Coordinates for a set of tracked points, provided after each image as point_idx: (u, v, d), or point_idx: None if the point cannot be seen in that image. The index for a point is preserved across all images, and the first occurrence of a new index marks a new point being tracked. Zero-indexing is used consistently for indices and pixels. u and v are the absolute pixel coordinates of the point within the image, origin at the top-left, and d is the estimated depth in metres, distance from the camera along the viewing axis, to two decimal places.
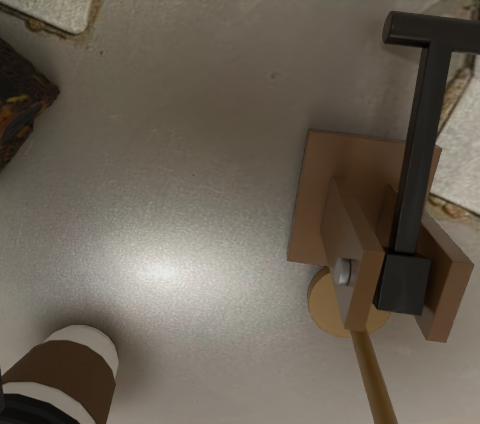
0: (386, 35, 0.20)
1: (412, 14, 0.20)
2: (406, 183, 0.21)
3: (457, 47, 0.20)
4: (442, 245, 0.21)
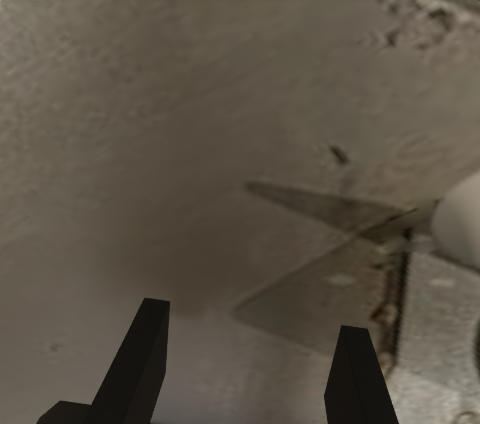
0: None
1: None
2: None
3: None
4: None
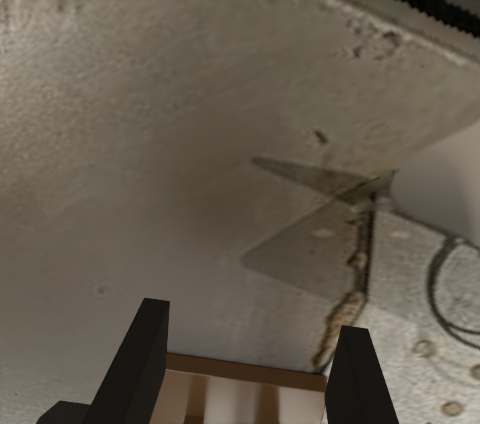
0: None
1: None
2: None
3: None
4: None
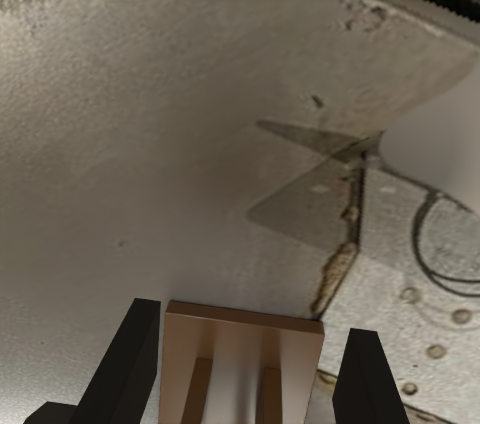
0: None
1: None
2: None
3: None
4: None
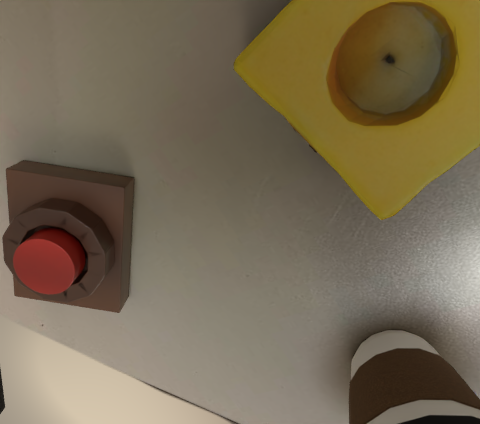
0: None
1: None
2: None
3: None
4: None
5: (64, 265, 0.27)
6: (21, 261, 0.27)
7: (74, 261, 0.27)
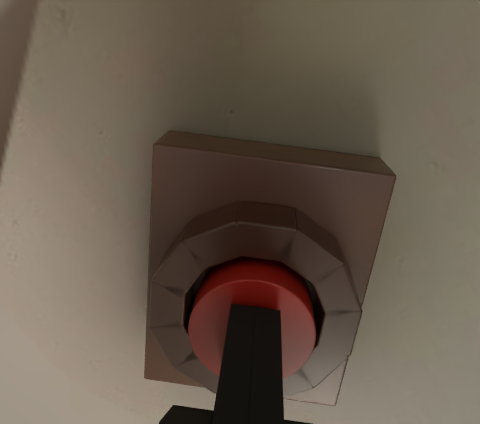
0: None
1: None
2: None
3: None
4: None
5: (296, 331, 0.13)
6: (207, 324, 0.13)
7: (314, 322, 0.13)
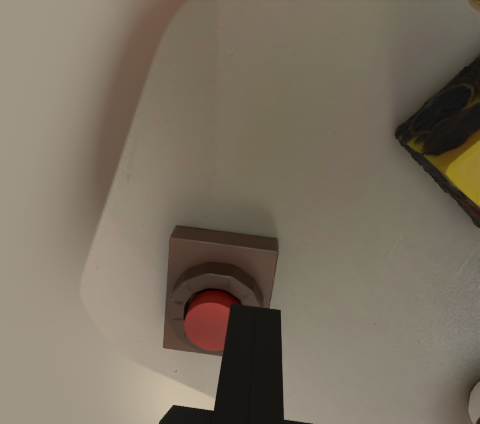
0: None
1: None
2: None
3: None
4: None
5: None
6: (192, 322, 0.30)
7: None
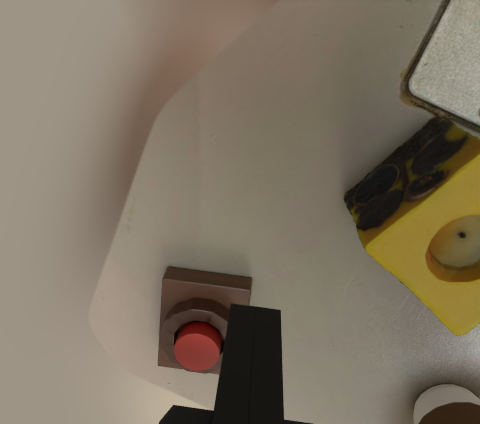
0: None
1: None
2: None
3: None
4: None
5: (212, 351, 0.37)
6: (180, 348, 0.37)
7: (219, 347, 0.37)
